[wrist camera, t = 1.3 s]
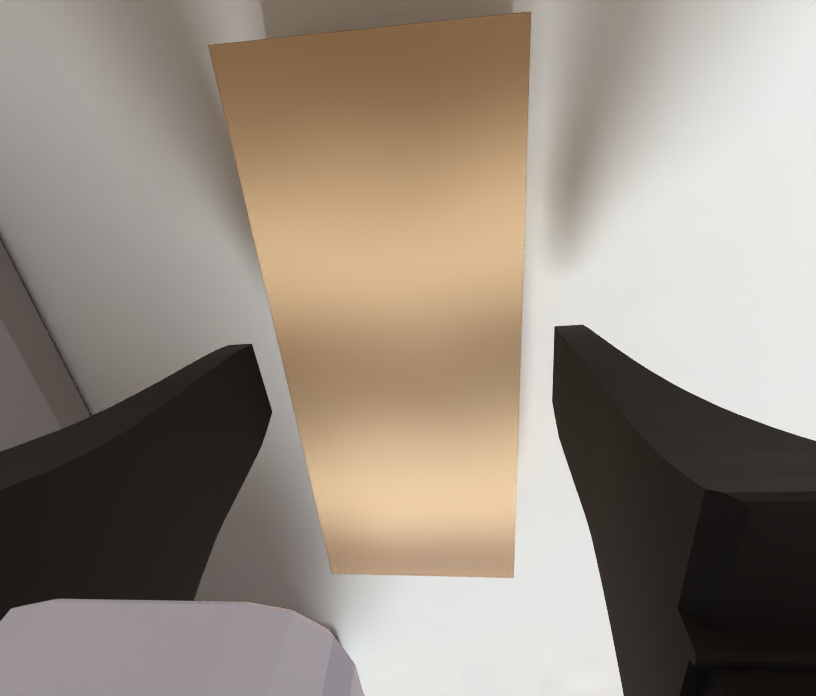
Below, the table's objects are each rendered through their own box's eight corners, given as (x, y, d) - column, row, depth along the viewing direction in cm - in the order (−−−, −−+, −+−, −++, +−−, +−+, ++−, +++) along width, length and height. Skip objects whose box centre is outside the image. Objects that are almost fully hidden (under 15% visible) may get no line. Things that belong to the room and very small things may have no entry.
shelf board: (504, 490, 18) (513, 577, 15) (352, 490, 19) (332, 573, 15) (511, 26, 11) (530, 11, 8) (272, 50, 12) (208, 45, 9)
